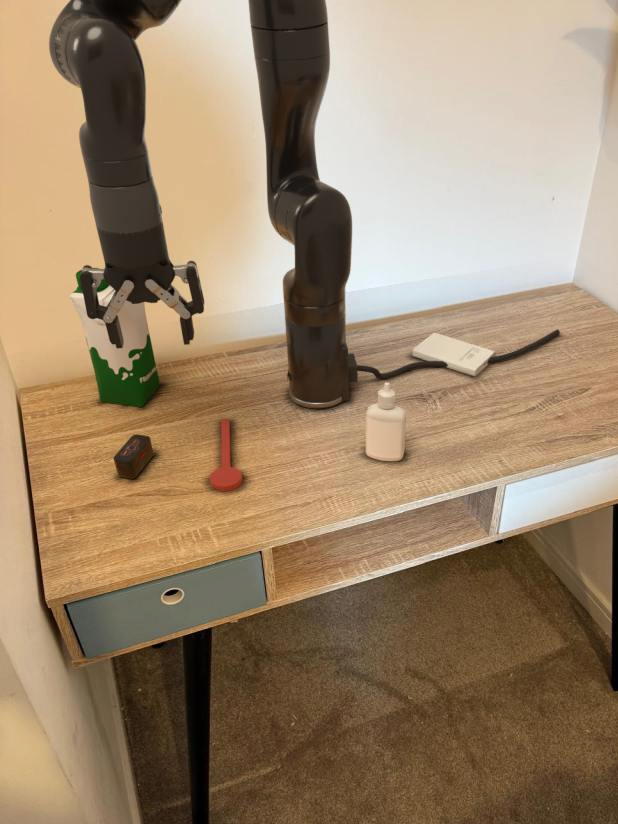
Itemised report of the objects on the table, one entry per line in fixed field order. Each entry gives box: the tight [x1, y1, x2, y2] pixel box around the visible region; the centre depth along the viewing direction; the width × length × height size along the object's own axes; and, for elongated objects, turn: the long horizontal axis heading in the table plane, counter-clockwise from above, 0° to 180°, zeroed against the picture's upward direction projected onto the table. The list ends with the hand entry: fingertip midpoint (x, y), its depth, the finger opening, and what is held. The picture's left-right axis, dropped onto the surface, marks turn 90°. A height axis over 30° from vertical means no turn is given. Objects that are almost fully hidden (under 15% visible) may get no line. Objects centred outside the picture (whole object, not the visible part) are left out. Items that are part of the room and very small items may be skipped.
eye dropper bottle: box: [365, 382, 407, 462], centre depth 105 cm, size 4×6×12 cm
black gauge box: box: [113, 433, 154, 480], centre depth 105 cm, size 5×7×3 cm, turn 167°
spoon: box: [209, 418, 243, 492], centre depth 108 cm, size 4×17×1 cm, turn 10°
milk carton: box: [69, 267, 161, 408], centre depth 113 cm, size 9×9×20 cm
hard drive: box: [411, 332, 497, 377], centre depth 131 cm, size 2×8×12 cm
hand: (154, 343), depth 97 cm, fingers open, 8 cm apart
